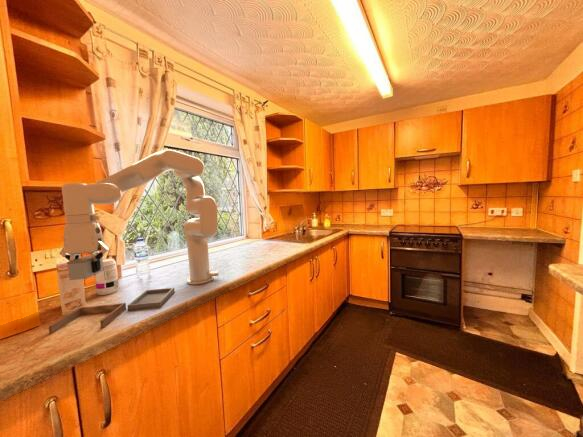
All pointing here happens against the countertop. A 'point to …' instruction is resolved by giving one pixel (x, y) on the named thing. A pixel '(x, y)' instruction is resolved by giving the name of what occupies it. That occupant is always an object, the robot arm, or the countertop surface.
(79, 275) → the grey rectangular box
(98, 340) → the countertop surface
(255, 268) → the countertop surface
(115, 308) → the frame
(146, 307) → the tray
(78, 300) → the coffeecake box
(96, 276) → the supplement can
